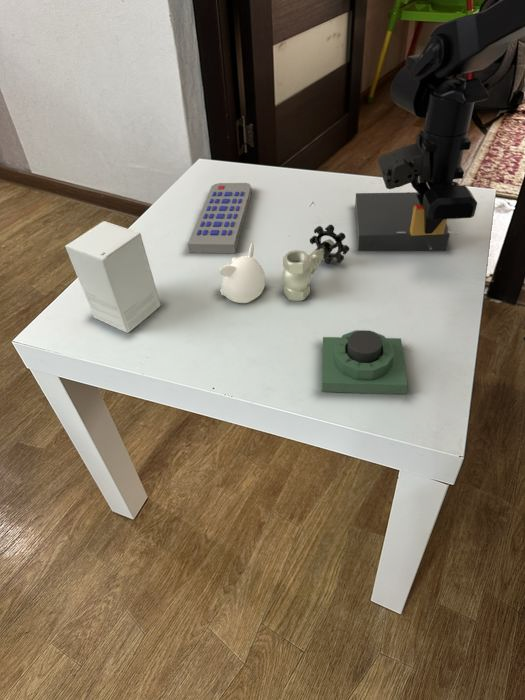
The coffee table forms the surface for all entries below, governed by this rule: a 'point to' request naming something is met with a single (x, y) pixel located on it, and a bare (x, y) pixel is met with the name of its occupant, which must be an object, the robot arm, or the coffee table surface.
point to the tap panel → (392, 224)
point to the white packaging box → (115, 275)
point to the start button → (364, 346)
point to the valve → (310, 262)
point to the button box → (363, 368)
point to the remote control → (221, 219)
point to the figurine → (242, 278)
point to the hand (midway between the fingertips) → (426, 230)
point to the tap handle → (418, 223)
